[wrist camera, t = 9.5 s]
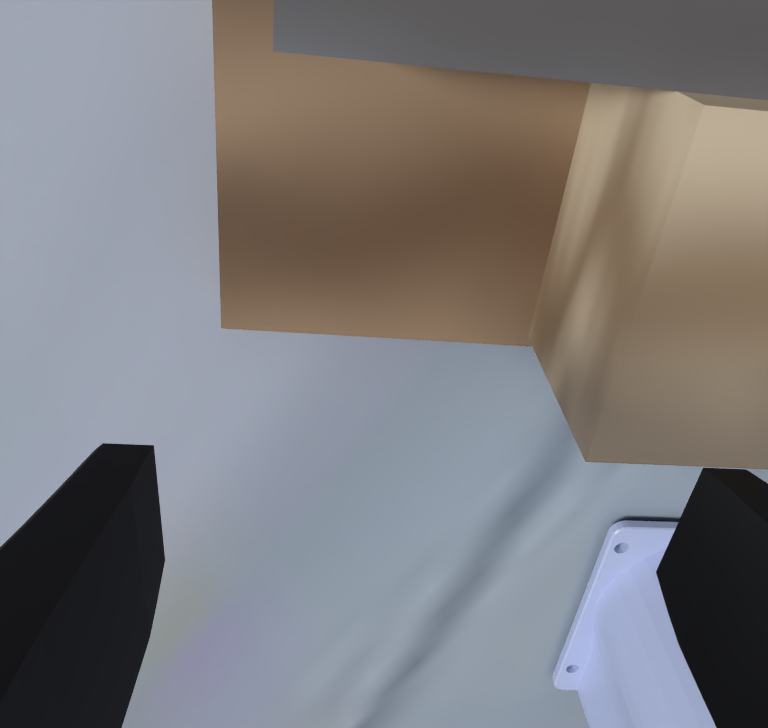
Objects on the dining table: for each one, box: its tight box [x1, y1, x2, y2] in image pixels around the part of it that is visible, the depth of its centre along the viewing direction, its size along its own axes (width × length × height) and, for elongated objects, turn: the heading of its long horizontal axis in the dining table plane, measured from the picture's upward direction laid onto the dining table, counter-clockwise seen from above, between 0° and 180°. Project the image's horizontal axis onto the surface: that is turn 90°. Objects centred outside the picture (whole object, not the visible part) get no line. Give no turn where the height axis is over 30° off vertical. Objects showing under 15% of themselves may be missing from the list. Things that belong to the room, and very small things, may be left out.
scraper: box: [273, 0, 768, 469], centre depth 14 cm, size 9×17×5 cm, turn 84°
